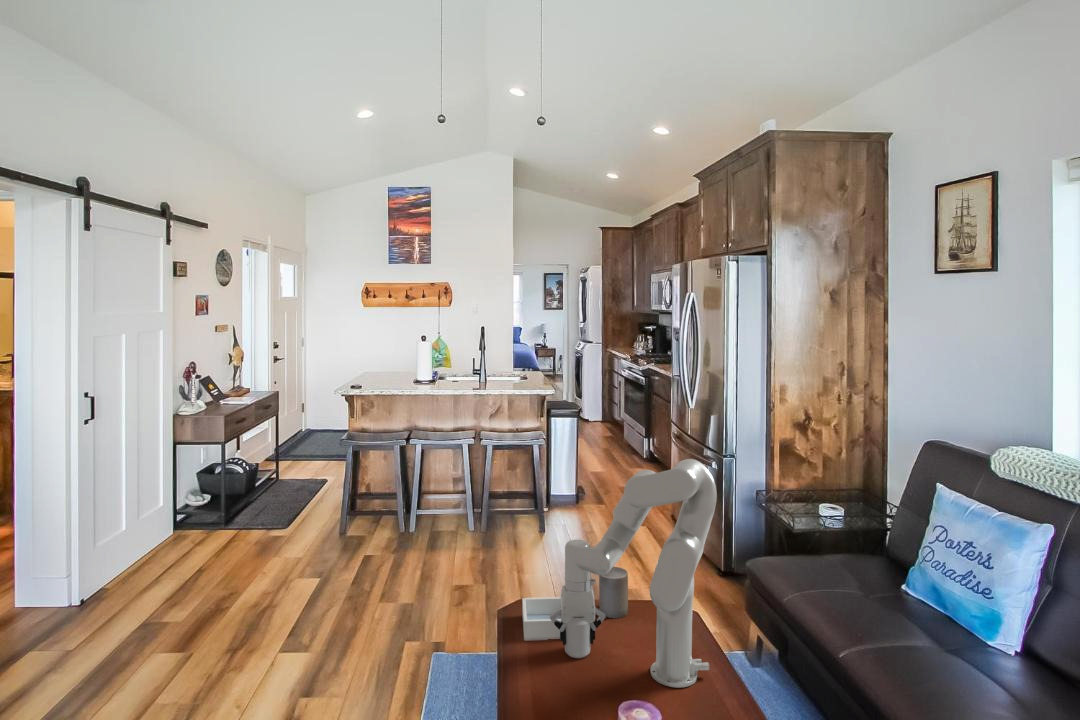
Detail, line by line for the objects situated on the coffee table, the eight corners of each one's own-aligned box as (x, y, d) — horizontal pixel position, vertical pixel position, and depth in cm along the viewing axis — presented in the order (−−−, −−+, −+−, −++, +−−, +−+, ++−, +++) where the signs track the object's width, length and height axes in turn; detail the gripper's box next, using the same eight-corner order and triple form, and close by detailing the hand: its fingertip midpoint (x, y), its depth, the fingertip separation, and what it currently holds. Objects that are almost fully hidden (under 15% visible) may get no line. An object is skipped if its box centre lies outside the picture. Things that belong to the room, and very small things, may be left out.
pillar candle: (625, 604, 212) (624, 562, 212) (630, 618, 203) (630, 573, 202) (596, 606, 212) (596, 563, 211) (601, 619, 202) (601, 574, 201)
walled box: (570, 614, 205) (570, 596, 205) (576, 639, 190) (576, 620, 189) (522, 615, 205) (522, 598, 204) (524, 640, 189) (524, 621, 188)
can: (561, 648, 184) (561, 609, 183) (584, 644, 186) (584, 605, 186) (569, 661, 177) (570, 620, 176) (594, 657, 179) (594, 617, 178)
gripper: (605, 577, 185) (604, 634, 186) (547, 579, 184) (547, 636, 185) (609, 588, 177) (609, 648, 178) (548, 589, 176) (548, 649, 177)
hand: (577, 641), depth 181 cm, fingers closed on can, 7 cm apart
